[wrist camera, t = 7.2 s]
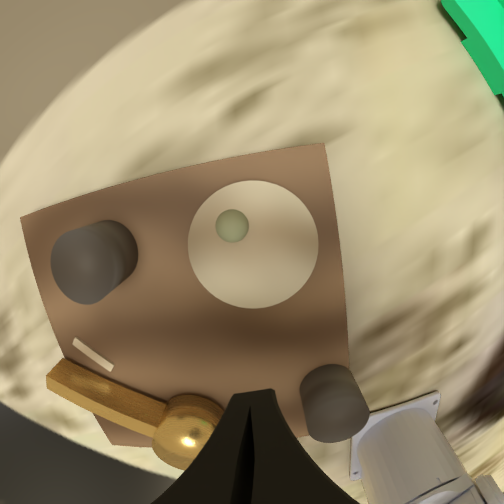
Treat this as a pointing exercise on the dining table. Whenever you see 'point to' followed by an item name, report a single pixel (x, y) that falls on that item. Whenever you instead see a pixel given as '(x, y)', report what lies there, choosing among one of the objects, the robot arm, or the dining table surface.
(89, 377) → the brass lever handle
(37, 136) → the dining table surface
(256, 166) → the levelling base
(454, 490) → the robot arm
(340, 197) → the dining table surface
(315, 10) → the dining table surface
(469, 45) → the green triangular bracket
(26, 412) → the dining table surface
